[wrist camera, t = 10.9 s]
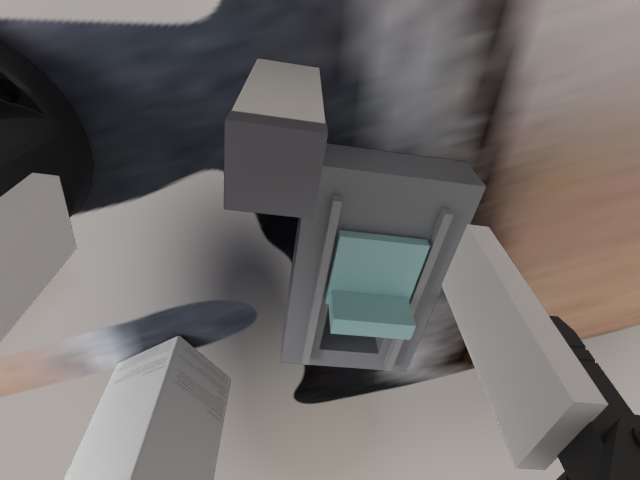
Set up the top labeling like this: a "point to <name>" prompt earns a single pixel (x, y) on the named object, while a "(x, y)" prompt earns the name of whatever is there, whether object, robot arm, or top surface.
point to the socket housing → (376, 218)
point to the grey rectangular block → (276, 141)
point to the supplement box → (156, 419)
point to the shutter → (374, 284)
